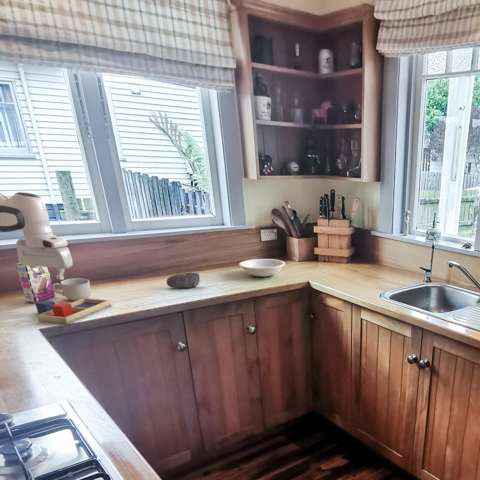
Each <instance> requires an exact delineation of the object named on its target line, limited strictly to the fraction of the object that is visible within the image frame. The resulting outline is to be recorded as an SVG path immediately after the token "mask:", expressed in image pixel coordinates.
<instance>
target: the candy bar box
mask: <svg viewBox="0 0 480 480" xmlns="http://www.w3.org/2000/svg"><path fill="white" fill-rule="evenodd" d="M15 268H16V271H17V274H18V278H19V281H20V286H21V288H22V292H23V296H24V299H25V303H29V304H30V303H31V304H35V303H37V302H40V301H43V300H49V299H51V298H55V297H56V292H55V291H54V290H53V289H52V285H53V282H52V281H53V280H52V278H51V274H50V269H49V267H42V266H38V267H37V269H38V270H39V272H41V273H42V277H40V278H38V277H35V274H34V272H33V271H32V270H31V269H30V266H29V265H22V264H21V263H20V262H17V263H15Z"/></svg>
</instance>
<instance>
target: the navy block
mask: <svg viewBox="0 0 480 480" xmlns="http://www.w3.org/2000/svg"><path fill="white" fill-rule="evenodd" d="M34 304H35V308H36V311H37V315H39V314H42V313H45V312H47V311H50V310H52V305H55V304H56V301H54V300H49V299H46V300H43V301H40V302H37V303H34Z"/></svg>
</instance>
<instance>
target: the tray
mask: <svg viewBox="0 0 480 480" xmlns="http://www.w3.org/2000/svg"><path fill="white" fill-rule="evenodd" d="M70 303H71V307H72V310H73V314H72V315H70V316H67V317H56V316H54V313H53V310H50V311H47V312H45V313H42V314H37V320H38V322H41V323H51V324H62V325H68V324H71V323H73V322H76V321H78V320H80V319H83V318H85V317H88V316H90V315H93V314H95V313H98V312H100V311H103V310H105V309H107V308H110V307H111V306H112V304H111V300H110V299H99V298H90V297H88V298H83V299H81V300H78V301H73V302H70Z"/></svg>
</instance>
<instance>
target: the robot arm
mask: <svg viewBox="0 0 480 480" xmlns="http://www.w3.org/2000/svg"><path fill="white" fill-rule="evenodd" d="M19 230H21V231H22V234H23V238H19V239H18V240H17V241H16V253H17V259H18V263H21V264H22V265H29V266H30V269H31V270H32V271H33V272H34V274H35V277H38V278H40V277H42V273H41V272H39V270H38V269H37V267H38V266H42V267H48V268H52V269H53V268H55V269H56V271H58V273H57V274H56V275H55V276H56V279H57V280H58V281H63V280H65V275H64V274H65V271H66V269H70V268H72V267H73V265H74V261H73V257H72V254H71V251H70V249H69V247H67V246H68V245H69V243H68V241H67V240H66V239H65V238H62V237H60V236H58V235H56V234H54V232H53V229H52V228H51V224H50V216H49V212H48V208H47V206H46V204H45V201H44V199H43V198H42V197H41V196H40V195H37V194H34V193H30V192H22V191H19V192H15V193H14V194H13V195H12V196H10V197H7V196H6V195H4V194H2V193H1V192H0V233H12V232H13V231H14V232H15V231H19Z"/></svg>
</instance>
